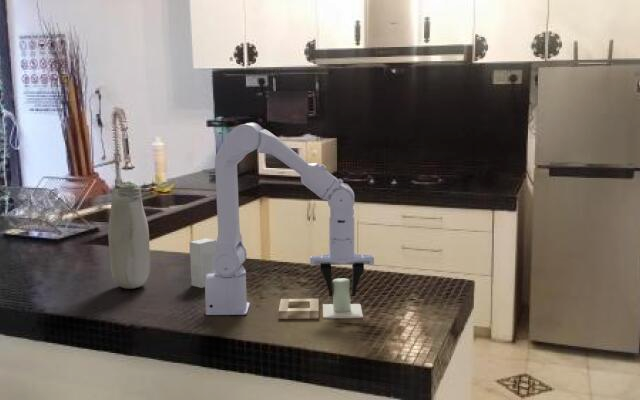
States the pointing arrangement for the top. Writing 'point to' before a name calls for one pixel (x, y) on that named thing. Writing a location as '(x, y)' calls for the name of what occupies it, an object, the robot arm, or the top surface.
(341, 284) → the sage peg
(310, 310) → the pocket holder
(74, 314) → the top surface
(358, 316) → the pad
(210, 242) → the skincare box
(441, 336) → the top surface
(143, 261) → the pale grey-green bottle
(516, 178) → the top surface
